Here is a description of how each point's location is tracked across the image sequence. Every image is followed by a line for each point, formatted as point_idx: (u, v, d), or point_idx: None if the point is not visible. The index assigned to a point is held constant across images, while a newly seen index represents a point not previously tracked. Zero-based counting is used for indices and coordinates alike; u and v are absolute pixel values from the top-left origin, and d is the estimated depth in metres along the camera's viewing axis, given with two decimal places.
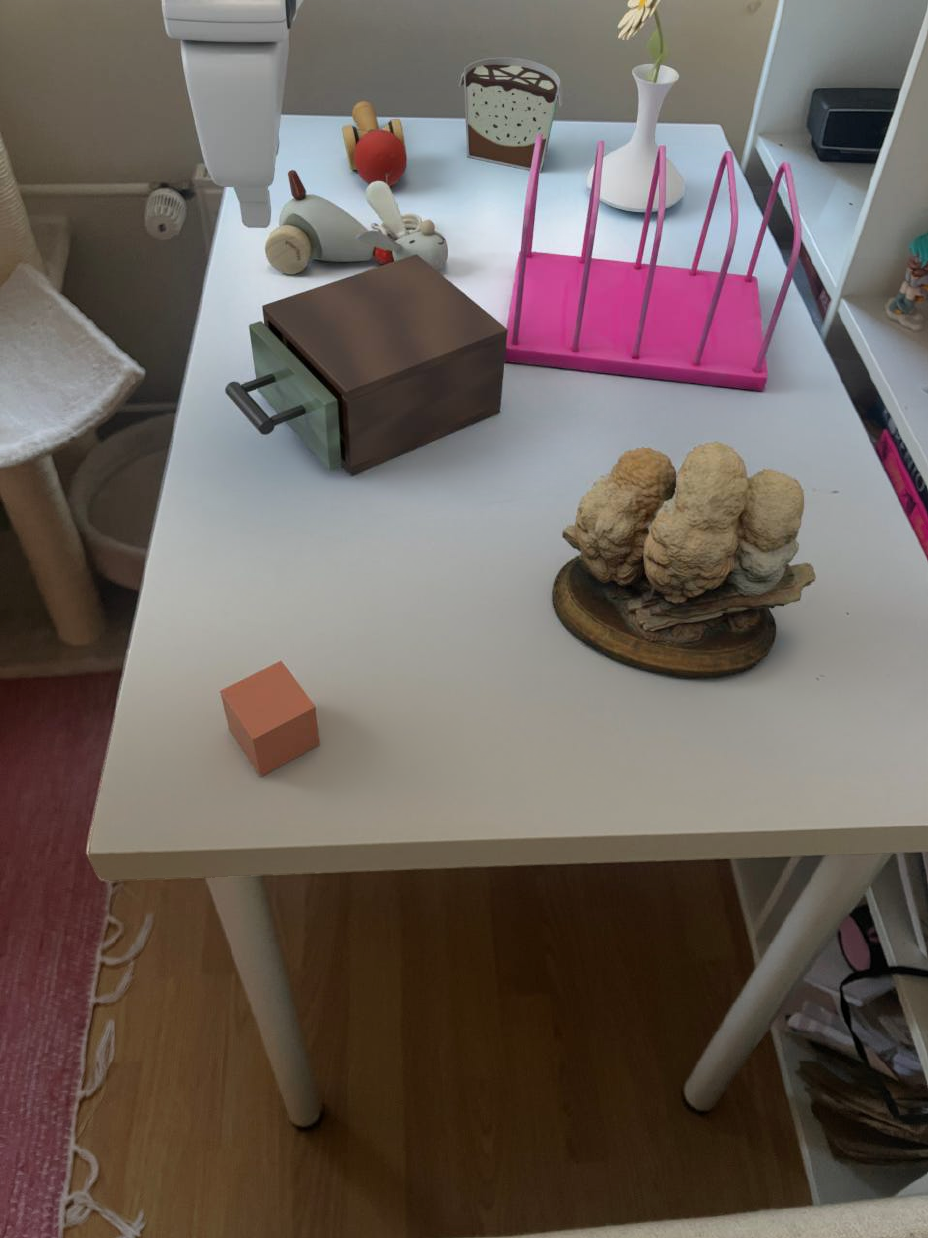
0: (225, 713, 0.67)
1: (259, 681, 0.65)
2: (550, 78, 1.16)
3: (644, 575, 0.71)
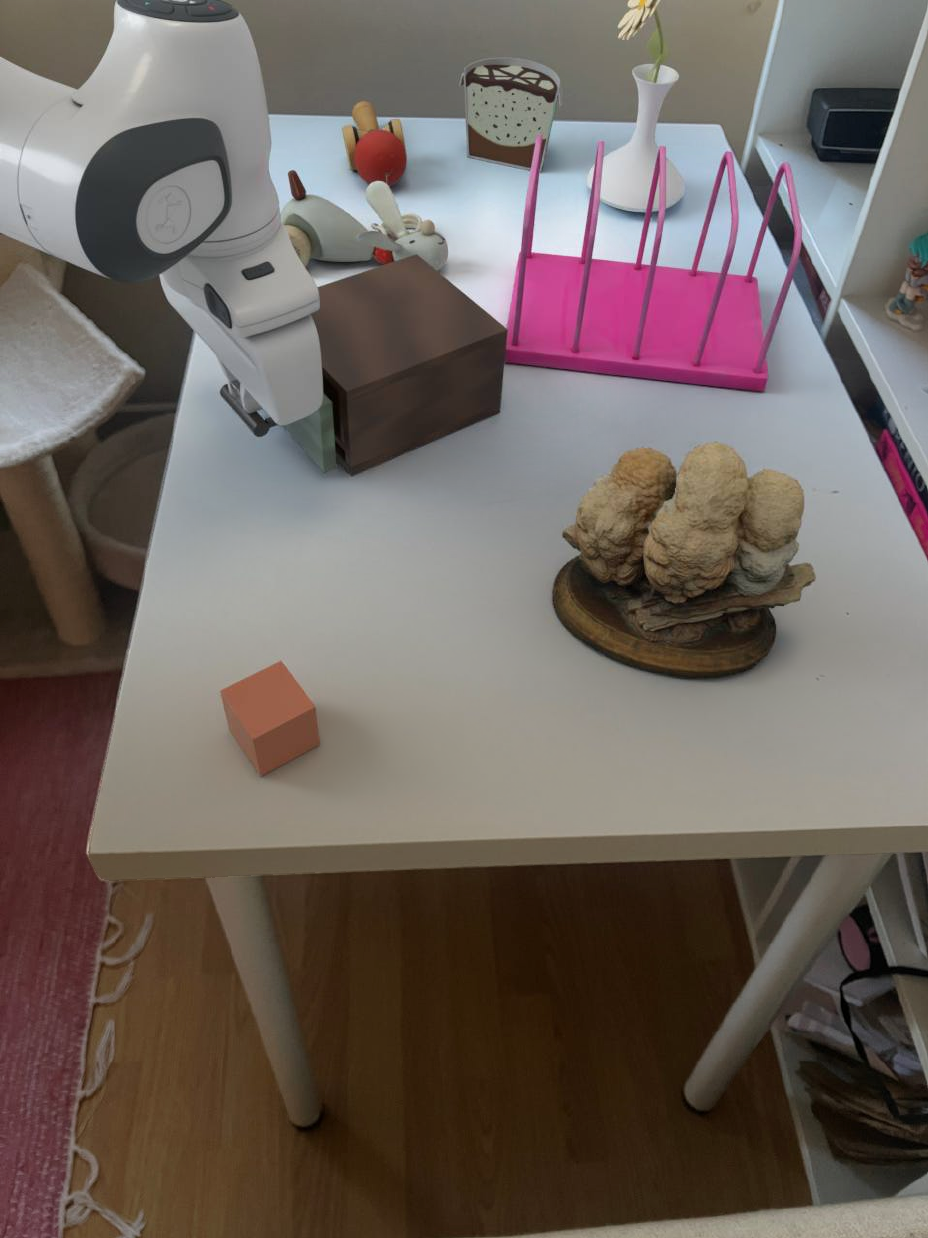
0: (225, 713, 0.67)
1: (259, 681, 0.65)
2: (550, 78, 1.16)
3: (644, 575, 0.71)
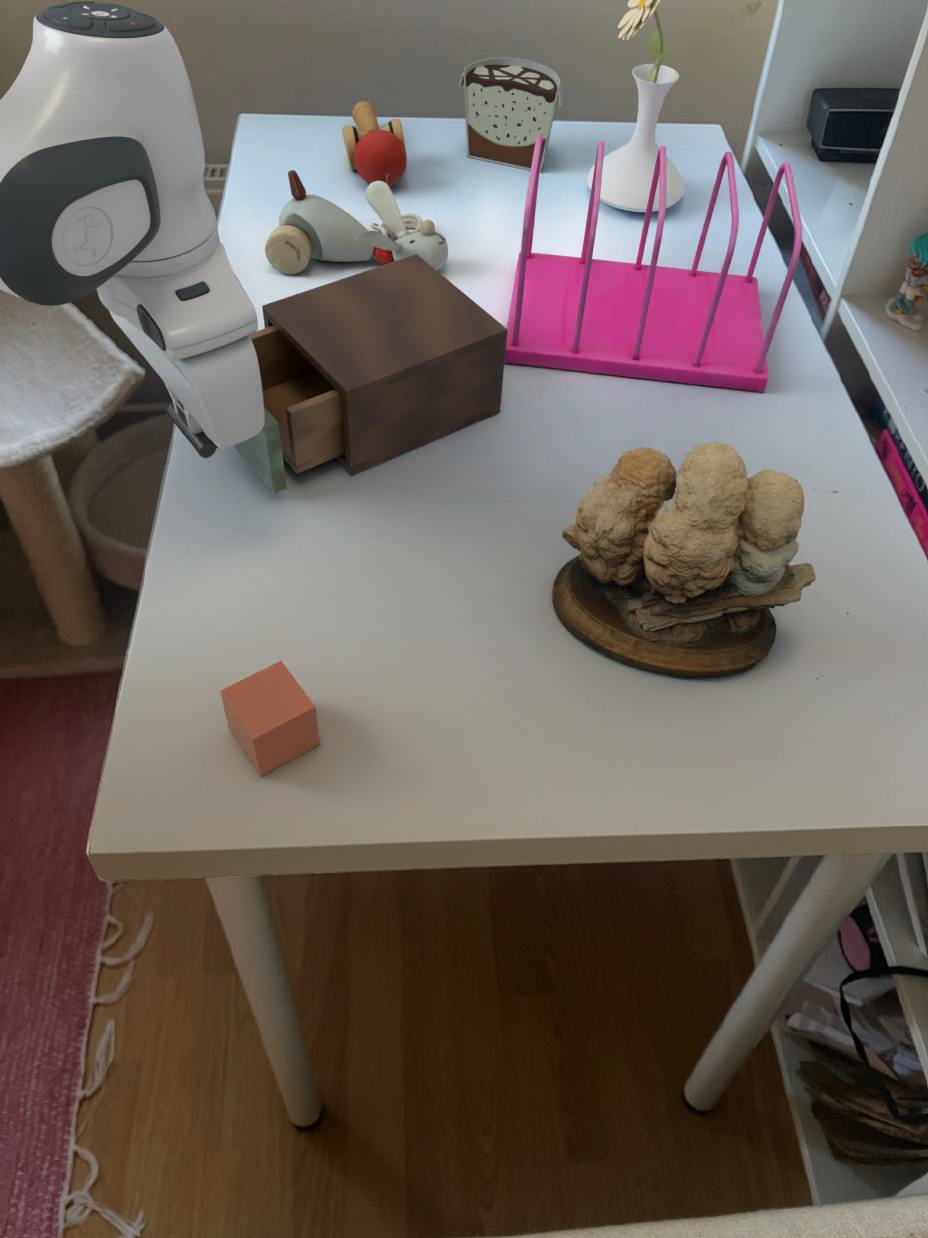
0: (225, 713, 0.67)
1: (259, 681, 0.65)
2: (550, 78, 1.16)
3: (644, 575, 0.71)
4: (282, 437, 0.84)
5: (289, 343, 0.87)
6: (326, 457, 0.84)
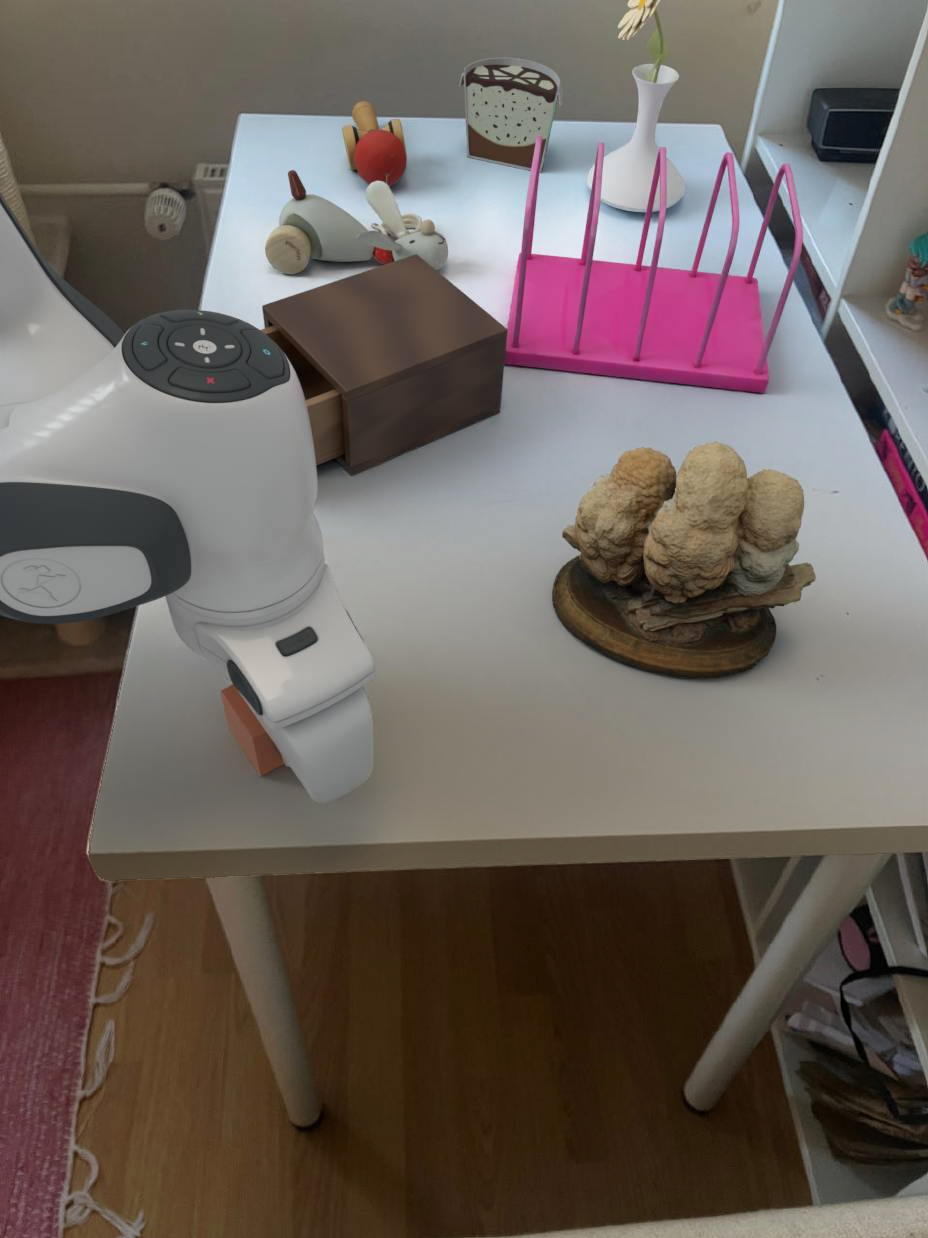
0: (225, 713, 0.67)
1: None
2: (550, 78, 1.16)
3: (644, 575, 0.71)
4: None
5: (284, 345, 0.86)
6: (321, 459, 0.83)
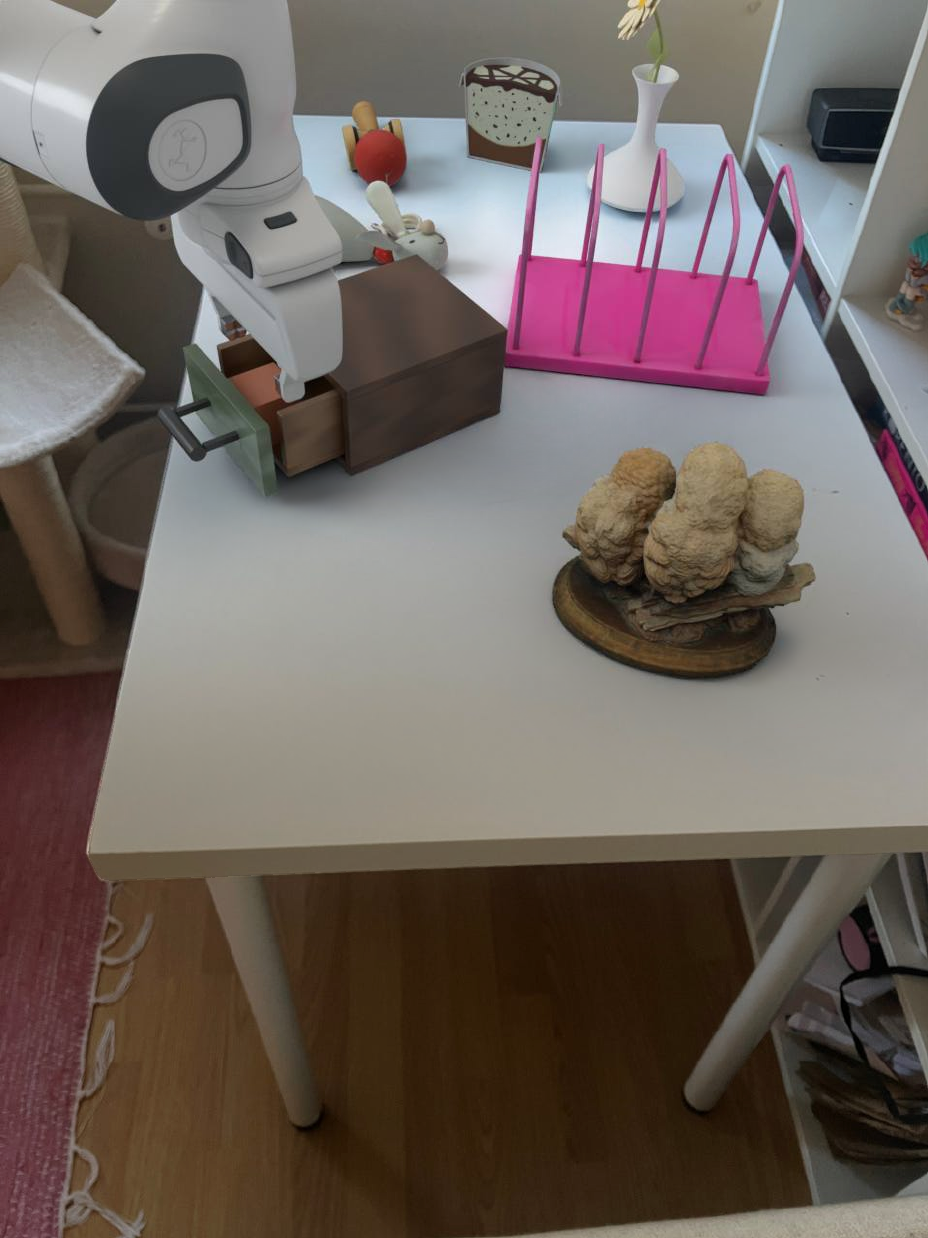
0: None
1: (256, 374, 0.82)
2: (550, 78, 1.16)
3: (644, 575, 0.71)
4: None
5: None
6: (318, 460, 0.83)
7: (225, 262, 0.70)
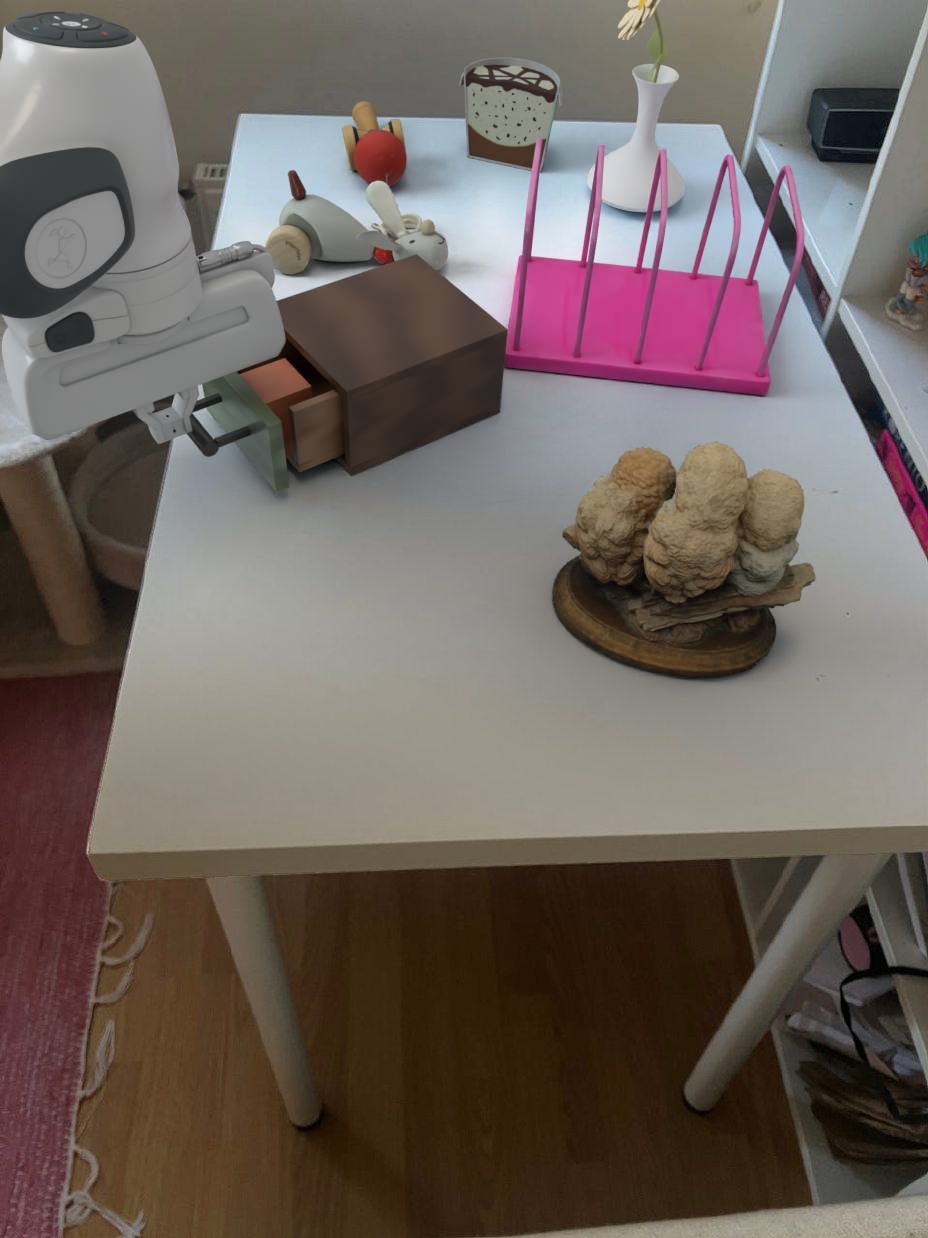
0: None
1: (267, 370, 0.83)
2: (550, 78, 1.16)
3: (644, 575, 0.71)
4: None
5: None
6: (329, 456, 0.84)
7: None
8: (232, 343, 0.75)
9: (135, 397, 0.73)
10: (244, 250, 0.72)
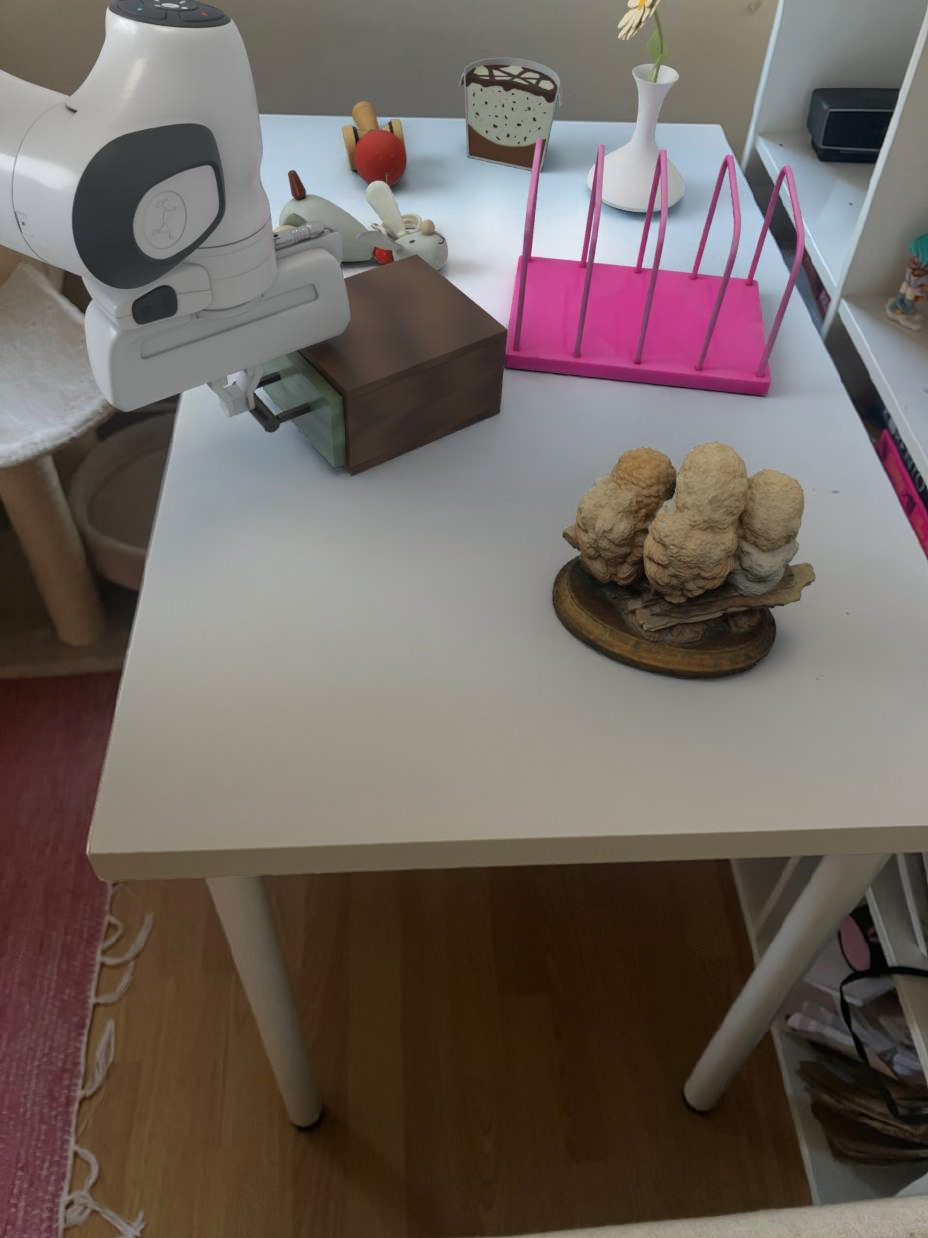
0: None
1: None
2: (550, 78, 1.16)
3: (644, 575, 0.71)
4: None
5: None
6: None
7: None
8: (301, 320, 0.77)
9: (209, 371, 0.75)
10: (316, 229, 0.74)
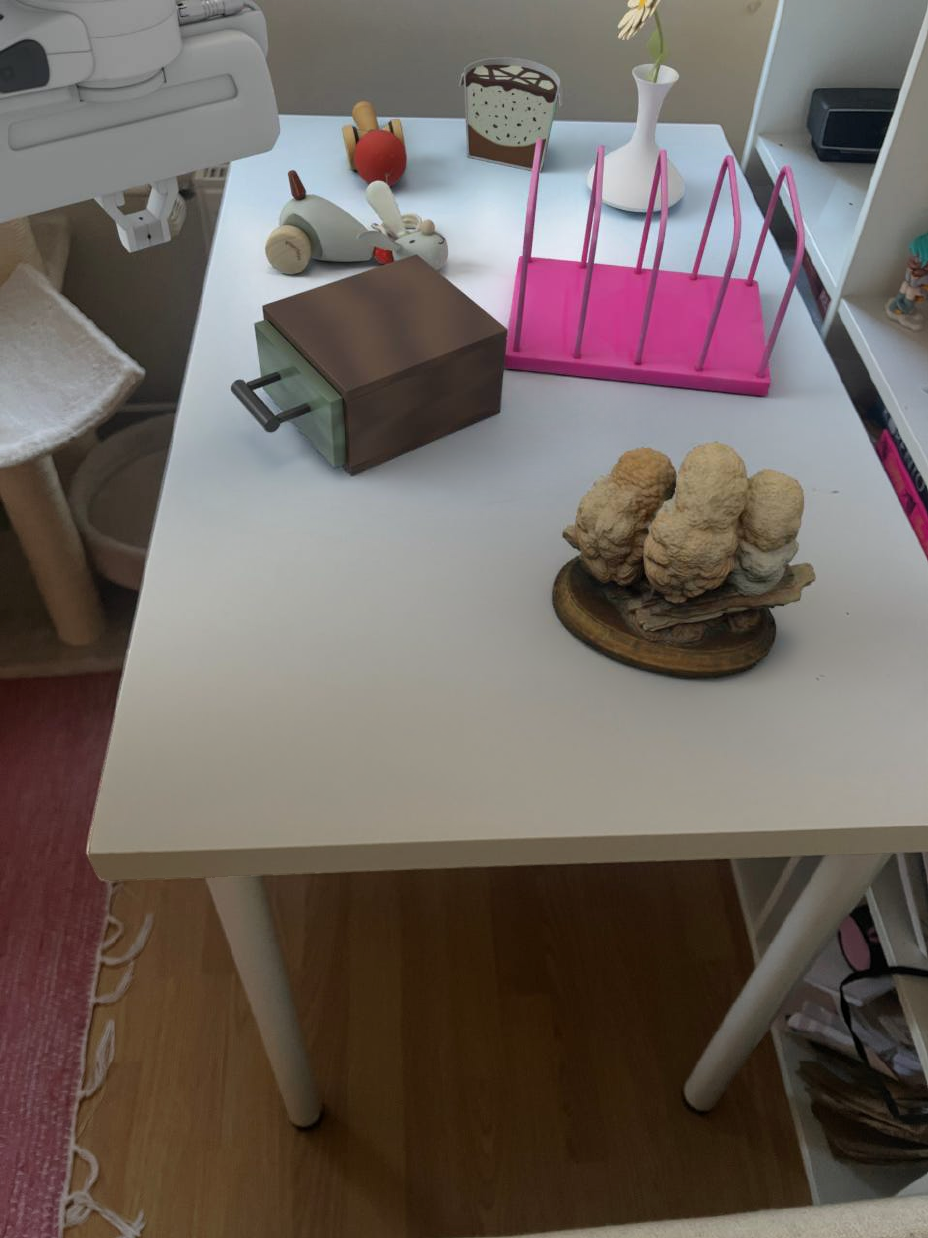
0: None
1: None
2: (550, 78, 1.16)
3: (644, 575, 0.71)
4: None
5: None
6: None
7: None
8: (217, 123, 0.63)
9: (101, 179, 0.61)
10: (232, 2, 0.60)
